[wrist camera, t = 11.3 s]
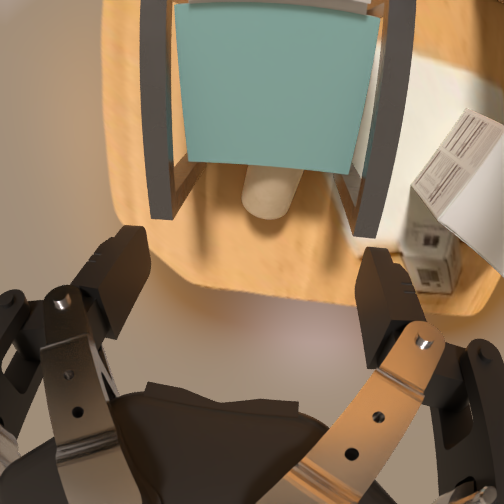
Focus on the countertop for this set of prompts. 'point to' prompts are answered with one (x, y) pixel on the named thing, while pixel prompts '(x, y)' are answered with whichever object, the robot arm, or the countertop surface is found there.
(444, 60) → the countertop surface
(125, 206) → the countertop surface
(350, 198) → the frame
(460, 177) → the supplement box
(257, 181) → the candle
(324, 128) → the trapdoor
